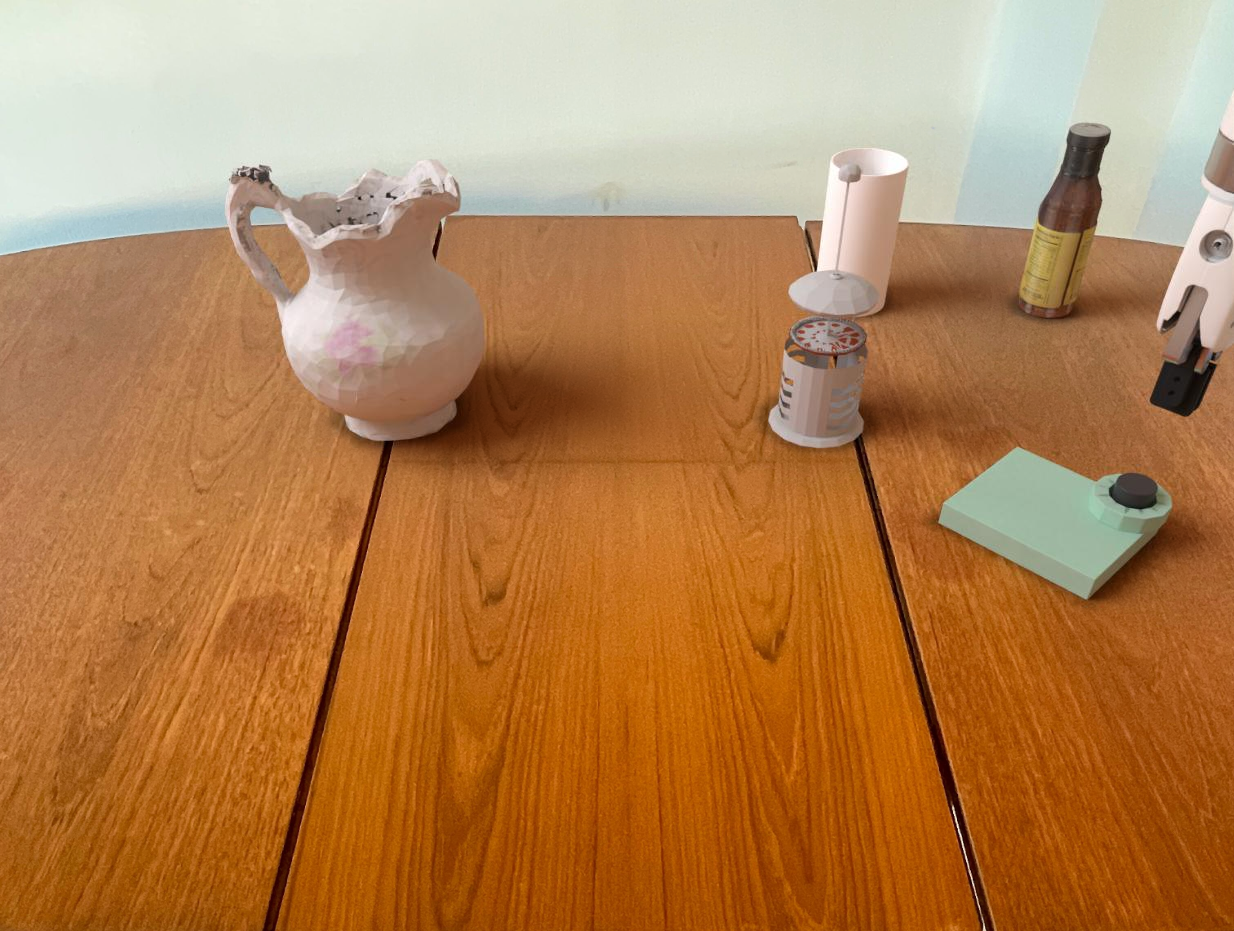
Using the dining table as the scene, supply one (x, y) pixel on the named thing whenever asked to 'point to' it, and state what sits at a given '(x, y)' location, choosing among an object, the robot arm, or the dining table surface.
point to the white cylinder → (864, 216)
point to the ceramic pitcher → (370, 297)
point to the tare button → (1134, 491)
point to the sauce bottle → (1065, 226)
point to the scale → (1053, 520)
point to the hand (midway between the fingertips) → (1173, 406)
